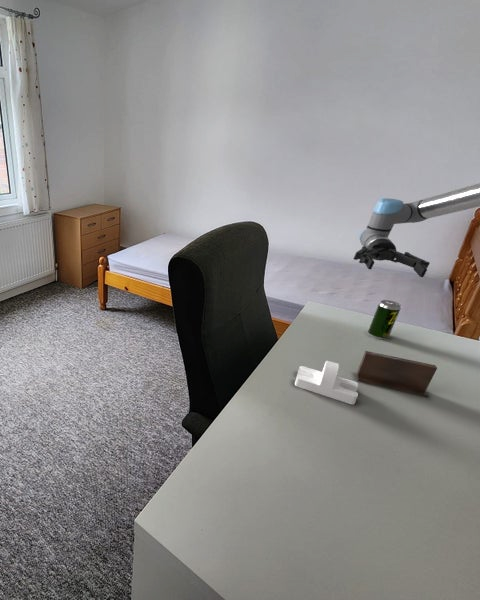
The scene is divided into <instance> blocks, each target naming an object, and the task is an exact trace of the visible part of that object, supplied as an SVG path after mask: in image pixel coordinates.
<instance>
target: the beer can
mask: <svg viewBox="0 0 480 600" xmlns="http://www.w3.org/2000/svg"><path fill="white" fill-rule="evenodd" d="M401 306H402V304H400V303H399V302H397V301H394V300H389V299H383V300H380V302H379V303H378V305H377V307H376V310H375V313H374V315H373V317H372V320H371V323H370V325H369V328H368V331H367V332H368V333H367V334H368V335H369V336H370V337H372V338H374V339H377V340H387V339H389V338H390V336H391V333H392V330H393V328H394V326H395V323H396V321H397V318H398V316H399V314H400V311H401V309H402V308H401Z"/></svg>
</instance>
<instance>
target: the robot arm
mask: <svg viewBox="0 0 480 600" xmlns="http://www.w3.org/2000/svg"><path fill="white" fill-rule="evenodd" d="M479 207H480V182H478V183H475V184H472V185H468V186H465V187H461V188H459V189H454V190H451V191H447V192H443V193H440V194H437V195H433V196H430V197H426V198H423V199H419V200H416V201H413V202H406V203H404V201H403V200H400V199H396V198H388V197H387V198H386V197H385V198H381V199H379V200H377V203H376V205H375V206H374V208H373V211H372V213H371V215H370V219H369V220H368V223H367V225H366V227H365V229H364V230H362V231H361V232H360V234H359V242H360V244H361V246H362V247H361V248H360V249H359V250H357V251H356V252H355V254H354V256H353V260H354V261H357V260H358V263H359V264H364V265H365V266H366V268H367V269H368V270H372V269H373V266H374V265H375V261H379V262H381V261H382V262H383V261H390V262H392V263H395V264H397V263H399V264H402V265H404V266H407V267H410V268H413V271H414V272H415V273H416V274H417V275H418V276H419V278H424V277H425V275H426V273H427V271H428V268H429V265H430V261H427V260H425V259H422V258H420V257H418V256H416V255H414V254H411V253H410V252H408V251H405V252H404V253H402V252H400V251H397V246H396V245H395V244H394V242H393V241H392V239H390V237H389V236H390V234H391V232H392V230H393V227H394V226H395V225H401V224H409V223H411V224H415V223H420V222H423V221H426V220H429V219H432V218H437V217H441V216H445V215H449V214H454V213H458V212H462V211H466V210H470V209H475V208H479Z"/></svg>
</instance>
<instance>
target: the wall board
mask: <svg viewBox="0 0 480 600" xmlns="http://www.w3.org/2000/svg"><path fill="white" fill-rule="evenodd" d="M359 363H360V364H359V366H358V368H357V371H356V374H355V376H356V380H357V382H360V383H365V384H369V385H373V386H376V387H377V386H378V387H381V388H385V389H389V390H393V391H398V392H401V393H406V394H410V395H415V396H417V397H418V396H419V397H423V398H428V393H427V389H428V387H429V385H430V383H431V382H432V380H433V377H434V375H435V373H436V372H437V369H438V367H437V365H436V364H432V363H426V362H422V361H417V360H412V359H407V358H402V357H397V356H393V355H388V354H383V353H378V352H375V351H374V352H373V351H368V350H365V351H364V353H363V356H362V358H361V361H360V362H359Z"/></svg>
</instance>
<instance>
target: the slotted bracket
mask: <svg viewBox="0 0 480 600" xmlns="http://www.w3.org/2000/svg"><path fill="white" fill-rule="evenodd" d="M339 367H340V363H337V362H334V361H330V360H325V362H324V365H323V368H322V371H320V370H317V369H314V368H310V367H307V366H304V365H300V366H299V367H298V370H297V373H296V378H295V381H294V385H295V386H296V387H297V388H300V389H303V390H307V391H310V392H312V393H316V394H318V395H322V396H324V397H328V398H331V399H334V400H336V401H339V402H343V403H346V404H350V405H355V404H356V401H357V399H358V396H359V392H357V391H358V388H359V383H358V381H357V382H356V381H355V380H351V379H347V378H345V377H340V376H337V375H338V373H339Z"/></svg>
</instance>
